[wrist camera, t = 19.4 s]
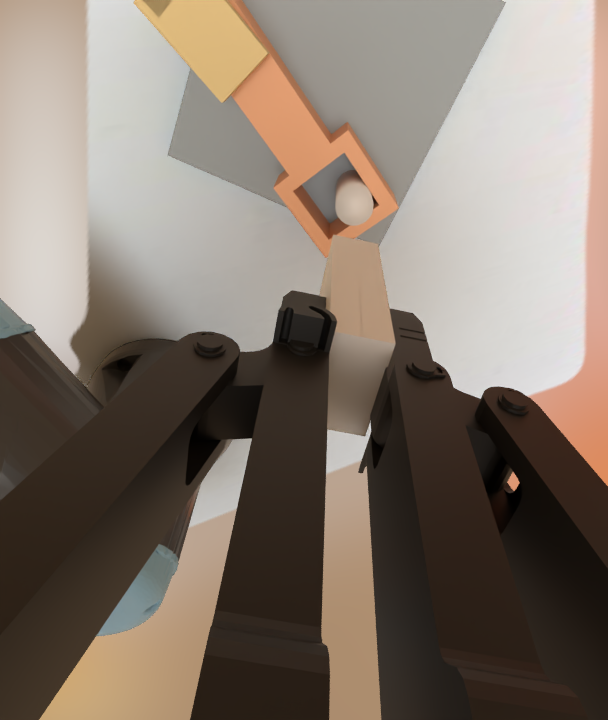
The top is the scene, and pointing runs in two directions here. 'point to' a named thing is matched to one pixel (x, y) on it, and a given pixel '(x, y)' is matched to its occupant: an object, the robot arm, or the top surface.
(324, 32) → the board
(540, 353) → the top surface
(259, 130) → the link
